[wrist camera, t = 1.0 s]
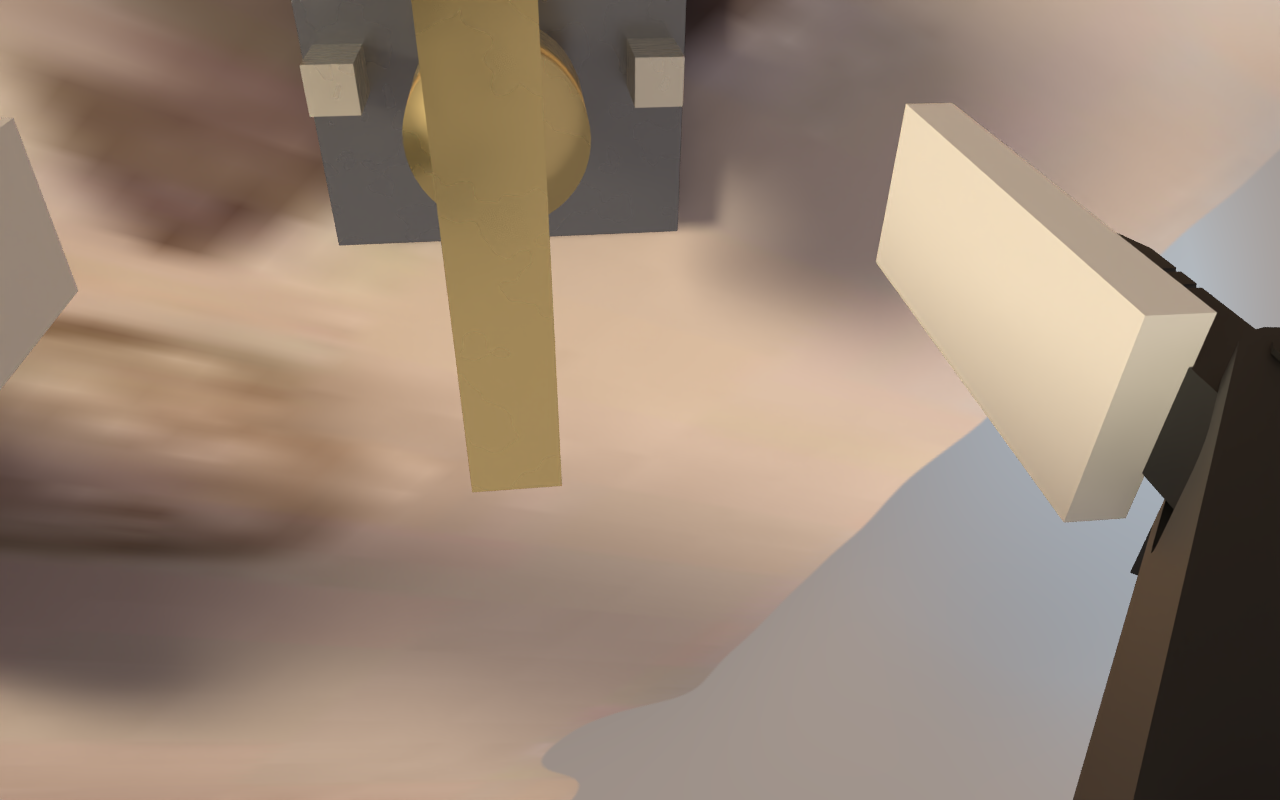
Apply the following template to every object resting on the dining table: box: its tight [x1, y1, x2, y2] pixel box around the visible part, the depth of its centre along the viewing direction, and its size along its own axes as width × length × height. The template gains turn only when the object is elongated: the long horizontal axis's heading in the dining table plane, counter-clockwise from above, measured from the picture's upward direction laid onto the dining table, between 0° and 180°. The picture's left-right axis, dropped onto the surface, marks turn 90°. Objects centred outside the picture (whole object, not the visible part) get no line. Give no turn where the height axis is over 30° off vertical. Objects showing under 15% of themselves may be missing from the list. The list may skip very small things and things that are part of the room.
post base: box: [291, 0, 686, 245], centre depth 38 cm, size 16×16×7 cm
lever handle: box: [402, 0, 591, 492], centre depth 29 cm, size 6×16×13 cm, turn 0°
